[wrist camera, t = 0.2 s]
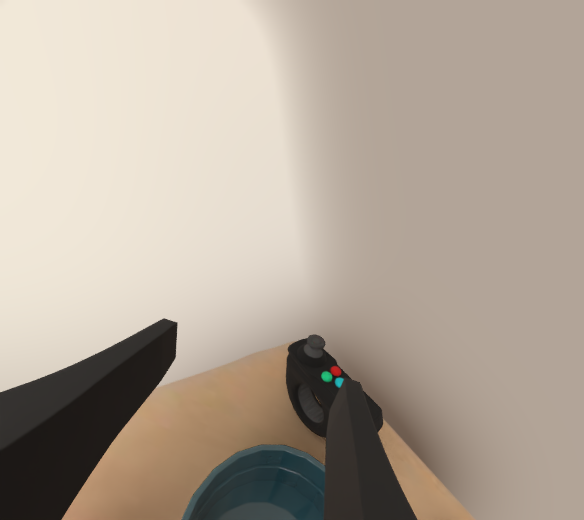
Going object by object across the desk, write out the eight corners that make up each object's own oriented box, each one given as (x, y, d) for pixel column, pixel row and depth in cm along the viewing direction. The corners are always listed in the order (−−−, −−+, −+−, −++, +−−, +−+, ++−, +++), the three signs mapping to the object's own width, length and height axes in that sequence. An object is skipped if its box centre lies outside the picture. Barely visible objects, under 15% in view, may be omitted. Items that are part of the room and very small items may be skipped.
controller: (296, 377, 38) (313, 320, 33) (367, 459, 30) (401, 398, 26) (271, 391, 35) (286, 330, 31) (342, 485, 27) (376, 421, 23)
